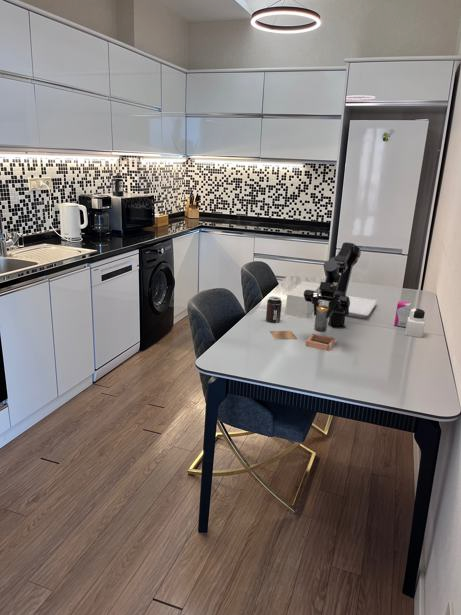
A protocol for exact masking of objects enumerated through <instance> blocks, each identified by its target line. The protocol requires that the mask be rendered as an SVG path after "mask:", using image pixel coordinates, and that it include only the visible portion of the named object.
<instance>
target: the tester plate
mask: <svg viewBox="0 0 461 615" xmlns="http://www.w3.org/2000/svg"><path fill="white" fill-rule="evenodd" d="M269 333H271V335H272V337H273V338H274V340H275V341H277V340H281V341H282V340H298V338H297V336H296V335H295V333H293V331H292V330H269Z"/></svg>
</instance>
